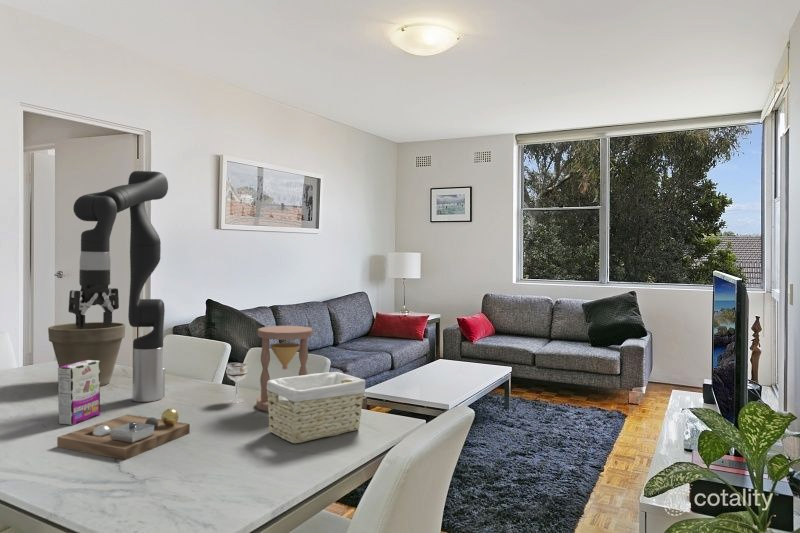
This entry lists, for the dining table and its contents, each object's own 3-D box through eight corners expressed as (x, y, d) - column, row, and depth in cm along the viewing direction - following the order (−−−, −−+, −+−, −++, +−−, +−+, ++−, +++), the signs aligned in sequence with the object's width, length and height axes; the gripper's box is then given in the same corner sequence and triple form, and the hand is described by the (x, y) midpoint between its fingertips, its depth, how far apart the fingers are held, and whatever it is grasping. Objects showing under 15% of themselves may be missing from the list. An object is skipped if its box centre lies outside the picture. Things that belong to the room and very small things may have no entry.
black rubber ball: (151, 427, 152) (151, 415, 152) (160, 428, 151) (161, 416, 151) (142, 430, 149) (142, 418, 149) (151, 432, 148) (151, 419, 148)
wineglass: (250, 398, 192) (250, 363, 192) (242, 404, 186) (243, 367, 185) (230, 398, 193) (231, 362, 193) (222, 403, 186) (222, 366, 186)
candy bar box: (86, 413, 171) (86, 359, 171) (100, 415, 170) (101, 360, 170) (56, 424, 160) (57, 366, 160) (72, 425, 159) (72, 367, 159)
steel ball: (102, 438, 149) (102, 421, 149) (115, 440, 148) (115, 423, 148) (88, 443, 145) (88, 426, 145) (101, 446, 144) (101, 428, 144)
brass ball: (169, 421, 157) (169, 406, 157) (182, 423, 155) (182, 407, 155) (157, 426, 153) (157, 410, 152) (170, 428, 151) (170, 411, 151)
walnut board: (127, 423, 163) (127, 414, 163) (189, 433, 155) (189, 423, 155) (57, 446, 142) (57, 436, 142) (125, 459, 135) (125, 449, 135)
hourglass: (305, 397, 197) (306, 324, 196) (316, 410, 180) (318, 331, 180) (253, 400, 190) (254, 326, 190) (259, 414, 174) (261, 333, 173)
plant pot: (52, 379, 215) (53, 322, 214) (125, 374, 225) (125, 320, 224) (42, 394, 192) (43, 330, 191) (124, 389, 202) (124, 328, 202)
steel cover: (132, 430, 147) (132, 417, 147) (154, 434, 145) (154, 421, 145) (110, 438, 141) (110, 425, 141) (132, 442, 138) (132, 428, 138)
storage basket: (334, 417, 173) (335, 369, 173) (367, 431, 161) (368, 379, 161) (262, 432, 158) (263, 379, 157) (293, 448, 145) (294, 391, 145)
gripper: (82, 269, 149) (82, 330, 150) (126, 268, 163) (125, 324, 163) (61, 268, 152) (61, 329, 152) (106, 267, 165) (105, 323, 165)
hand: (94, 326), depth 157 cm, fingers open, 8 cm apart
